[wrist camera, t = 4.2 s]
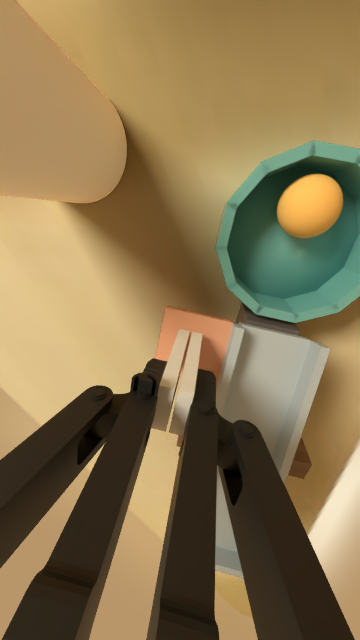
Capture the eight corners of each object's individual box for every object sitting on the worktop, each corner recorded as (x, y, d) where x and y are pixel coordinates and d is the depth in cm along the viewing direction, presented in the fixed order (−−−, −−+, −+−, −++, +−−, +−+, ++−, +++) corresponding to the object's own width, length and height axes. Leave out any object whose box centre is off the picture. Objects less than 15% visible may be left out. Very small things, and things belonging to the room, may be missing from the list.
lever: (169, 304, 20) (161, 310, 17) (310, 336, 20) (333, 349, 16) (127, 505, 24) (114, 544, 20) (246, 537, 23) (253, 584, 20)
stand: (204, 293, 23) (198, 328, 16) (325, 319, 23) (376, 369, 15) (169, 440, 31) (154, 510, 23) (259, 463, 30) (272, 543, 23)
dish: (238, 145, 19) (244, 127, 15) (391, 174, 18) (439, 162, 14) (205, 288, 23) (202, 302, 19) (327, 315, 22) (350, 335, 18)
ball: (266, 219, 20) (287, 162, 17) (317, 230, 20) (346, 173, 17) (270, 241, 17) (296, 176, 14) (329, 253, 17) (366, 190, 14)
